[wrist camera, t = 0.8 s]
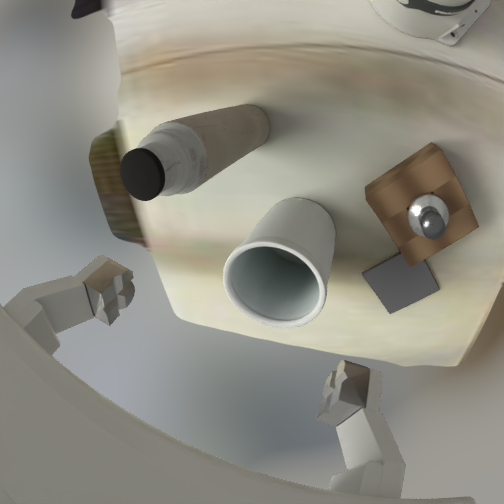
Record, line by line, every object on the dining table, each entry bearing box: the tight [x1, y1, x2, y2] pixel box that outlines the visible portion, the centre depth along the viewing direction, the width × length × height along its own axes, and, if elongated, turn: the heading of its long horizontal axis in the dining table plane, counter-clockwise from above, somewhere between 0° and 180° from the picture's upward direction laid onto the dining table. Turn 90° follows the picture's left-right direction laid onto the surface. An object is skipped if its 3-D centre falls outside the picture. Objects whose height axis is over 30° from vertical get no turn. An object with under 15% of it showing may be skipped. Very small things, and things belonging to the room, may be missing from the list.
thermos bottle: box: [120, 104, 270, 201], centre depth 34 cm, size 8×8×28 cm
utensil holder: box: [223, 198, 336, 328], centre depth 46 cm, size 15×15×18 cm
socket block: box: [365, 142, 479, 267], centre depth 39 cm, size 14×14×6 cm
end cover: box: [407, 193, 449, 240], centre depth 36 cm, size 6×6×9 cm
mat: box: [362, 252, 439, 314], centre depth 50 cm, size 12×12×1 cm
